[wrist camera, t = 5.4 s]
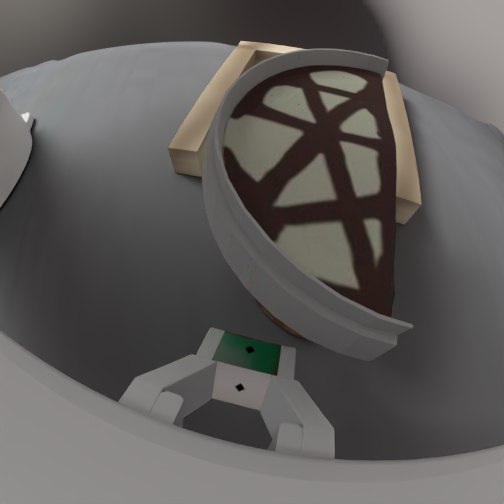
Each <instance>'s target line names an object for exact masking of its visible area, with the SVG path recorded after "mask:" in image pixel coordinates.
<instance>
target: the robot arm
mask: <svg viewBox="0 0 504 504" xmlns="http://www.w3.org/2000/svg"><path fill="white" fill-rule="evenodd" d="M33 120H34V118H33V117H32V115H31V114H30V113H25V114H22V115H20V113H19V112H18V111H17V109H16V108H15V107H14V105H13V104H12V102H11V101H10V100H9V98H8V97H7V95H6V94H5V93H4V91H3V90H2V88H1V87H0V207H1V206H2V204H3V203H4V202H5V200H6V199H7V197H8V196H9V194H10V193H11V191H12V189H13V188H14V186H15V185H16V183H17V181H18V179H19V178H20V176H21V174H22V172H23V170H24V168H25V166H26V163H27V161H28V158H29V156H30V152H31V148H32V137H31V133H30V129H31V126H32V124H33ZM295 362H296V348H295V347H290V346H284V345H277V344H273V343H268V342H264V341H260V340H256V339H252V338H249V337H245V336H241V335H238V334H234V333H231V332H227V331H223V330H220V329H216V328H213V327H211V328H210V329H209V331H208V333H207V335H206V336H205V338H204V340H203V342H202V344H201V346H200V348H199V350H198V352H197V354H196V355H193V354H191V355H188V356H186V357H184V358H181V359H179V360H177V361H174V362H172V363H170V364H167V365H165V366H162V367H160V368H157V369H155V370H153V371H150V372H148V373H145V374H143V375H140V376H137V377H135V378H134V380H133V381H132V383H131V384H130V386H129V387H128V388H127V390H126V391H125V393H124V394H123V396H122V397H121V398H120V400H119V401H118V402H117V401H114V400H112V399H110V398H108V397H106V396H104V395H102V394H100V393H98V392H96V391H94V390H92V389H90V388H88V387H87V386H85V385H83V384H81V383H79V382H77V381H76V380H74V379H72V378H70V377H69V376H67V375H65V374H64V373H62V372H60V371H59V370H57V369H55V368H54V367H52V366H50V365H49V364H47V363H46V362H44V361H43V360H41V359H40V358H38V357H37V356H35V355H34V354H32V353H31V352H29V351H28V350H26V349H25V348H24V347H22V346H21V345H19V344H18V343H17V342H15V341H14V340H13V339H11V338H10V337H9V336H7V335H6V334H5V333H4V332H2V331H1V330H0V504H504V445H500V446H496V447H492V448H488V449H483V450H479V451H474V452H468V453H463V454H456V455H450V456H442V457H433V458H423V459H409V460H345V459H335V439H334V428H333V427H332V425H331V424H330V423H329V421H328V420H327V419H326V417H325V416H324V415H323V413H322V412H321V411H320V409H319V408H318V407H317V405H316V404H315V403H314V401H313V400H312V399H311V397H310V396H309V395H308V393H307V392H306V391H305V389H304V388H303V386H302V385H301V384H300V382H299V381H297V380H294V376H295ZM211 398H213V399H217V400H221V401H225V402H229V403H233V404H237V405H241V406H244V407H248V408H252V409H256V410H260V413H261V416H262V418H263V420H264V422H265V425H266V427H267V429H268V431H269V433H270V436H271V438H272V441H271V443H270V445H269V447H268V449H267V450H265V449H260V448H255V447H250V446H245V445H241V444H237V443H233V442H229V441H225V440H221V439H217V438H214V437H210V436H207V435H203V434H200V433H197V432H194V431H191V430H187V429H184V428H183V418H184V417H186V416H187V415H189V414H190V413H192V412H193V411H195V410H196V409H198V408H199V407H201V406H202V405H204V404H205V403H207V402H208V401H209V400H211Z"/></svg>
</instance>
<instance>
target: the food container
mask: <svg viewBox="0 0 504 504" xmlns="http://www.w3.org/2000/svg"><path fill="white" fill-rule="evenodd" d="M388 62H389V60H386V59H383V58H380V57H377V56H374V55H370V54H365V53H361V52H355V51H349V50H340V49H307V50H297V51H292V52H288V53H283V54H280V55H277V56H274V57H271V58H268V59H266V60H264V61H262V62H260V63H258V64H256V65H254V66H253V67H251V68H249V69H248V70H247V71H245V72H244V73H243V74H242V75H241V76H239V77H238V78H237V79H236V80H235V81H234V82H233V84H232V85H231V86H230V88H229V89H228V90H227V91H226V93H225V95H224V97H223V99H222V101H221V104H220V105H219V107H218V109H217V111H216V113H215V115H214V117H213V120H212V122H211V124H210V128H209V134H208V139H207V145H206V151H205V159H204V166H203V174H202V187H203V203H204V207H205V211H206V215H207V218H208V222H209V226H210V229H211V232H212V234H213V236H214V238H215V240H216V242H217V244H218V247H219V249H220V251H221V253H222V255H223V257H224V259H225V261H226V262H227V263H228V265H229V266H230V268H231V269H232V270H233V272H234V273H235V274H236V276H237V277H238V279H239V280H240V281H241V283H242V284H243V285H244V287H245V288H246V289H247V290H248V291H249V292H250V293H251V294H252V295H253V297H254V299H255V301H256V303H257V304H258V305H259V307H260V308H261V309H262V311H263V312H264V313H265V314H266V315H267V316H268V317H269V318H270V319H271V320H272V321H273V322H274V323H275V324H276V325H278V326H279V327H281V328H282V329H284V330H285V331H287V332H288V333H290V334H293V335H295V336H297V337H299V338H301V339H305V340H308V341H312V342H315V343H317V344H319V345H321V346H323V347H326V348H328V349H330V350H332V351H334V352H336V353H339V354H342V355H345V356H349V357H353V358H357V359H361V360H364V361H368V362H371V361H372V360H374V359H376V358H377V357H379V356H381V355H382V354H384V353H385V352H387V351H389V350H390V349H392V348H393V347H395V346H396V345H397V337H398V335H399V334H402V333H404V332H406V331H408V330H410V329H412V328H413V324H410V323H407V322H404V321H400V320H397V319H394V318H391V314H392V305H393V300H394V296H395V291H394V254H395V223H396V182H397V159H396V143H395V138H394V133H393V129H392V125H391V122H390V119H389V114H388V110H387V105H386V99H385V93H384V87H383V78H384V75H385V72H386V69H387V66H388Z"/></svg>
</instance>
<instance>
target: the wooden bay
mask: <svg viewBox="0 0 504 504" xmlns="http://www.w3.org/2000/svg"><path fill="white" fill-rule="evenodd" d="M297 50H306V49H300V48H294V47H288V46H281V45H274V44H266V43H257V42H246V41H241V42H240V43H239V44H238V46H237V47H236V48H235V49H234V51H233V52H232V53H231V55H230V56H229V57H228V58H227V60H226V61H225V62H224V64H223V65H222V66H221V68H220V69H219V70H218V72H217V73H216V75H215V76H214V77H213V79H212V80H211V82H210V83H209V84H208V86H207V87H206V89H205V90H204V92H203V93H202V94H201V96H200V97H199V99H198V100H197V102H196V103H195V105H194V106H193V108H192V109H191V111H190V112H189V114H188V116H187V117H186V119H185V120H184V122H183V123H182V125H181V127H180V128H179V130H178V131H177V133H176V135H175V136H174V138H173V140H172V141H171V143H170V145H169V146H168V150H169V154H170V157H171V160H172V163H173V166H174V170H175V173H181V174H187V175H193V176H199V177H202V174H203V166H204V159H205V151H206V145H207V139H208V134H209V128H210V124H211V122H212V120H213V117H214V115H215V113H216V111H217V109H218V107H219V105H220V104H221V101H222V99H223V97H224V95H225V93H226V91H227V90H228V89H229V88H230V86H231V85H232V84H233V82H234V81H235V80H236V79H237V78H238V77H239V76H241V75H242V74H243V73H244V72H245V71H247V70H248V69H249V68H251V67H253V66H254V65H256V64H258V63H260V62H262V61H264V60H266V59H268V58H271V57H274V56H277V55H280V54H283V53H288V52H292V51H297ZM383 87H384V93H385V99H386V105H387V110H388V114H389V119H390V122H391V125H392V129H393V133H394V138H395V143H396V159H397V182H396V222H398V223H401V224H404V225H405V224H406V222H407V221H408V220H409V219H410V218H411V217H412V216H413V214H414V213H415V212H416V211H417V210H418V208H419V207H420V206H421V205H422V204H421V194H420V186H419V178H418V171H417V165H416V158H415V153H414V147H413V142H412V137H411V132H410V127H409V123H408V118H407V114H406V110H405V106H404V102H403V98H402V94H401V91H400V87H399V84H398V80H397V77H396V74H394V73H392V72H389V71H386V72H385V75H384V78H383Z"/></svg>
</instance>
